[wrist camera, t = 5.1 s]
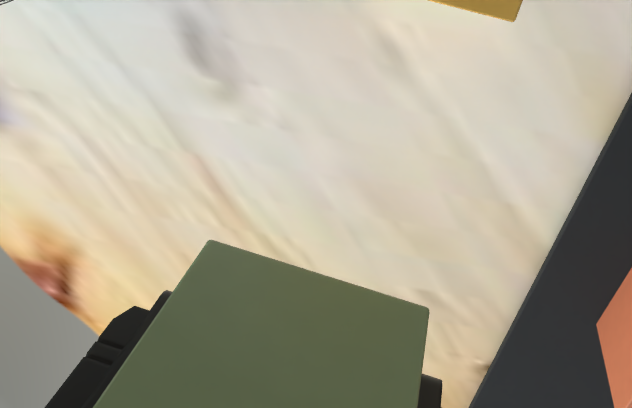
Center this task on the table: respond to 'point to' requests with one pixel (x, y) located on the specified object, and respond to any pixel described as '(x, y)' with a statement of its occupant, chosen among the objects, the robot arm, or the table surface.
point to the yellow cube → (488, 7)
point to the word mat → (571, 296)
